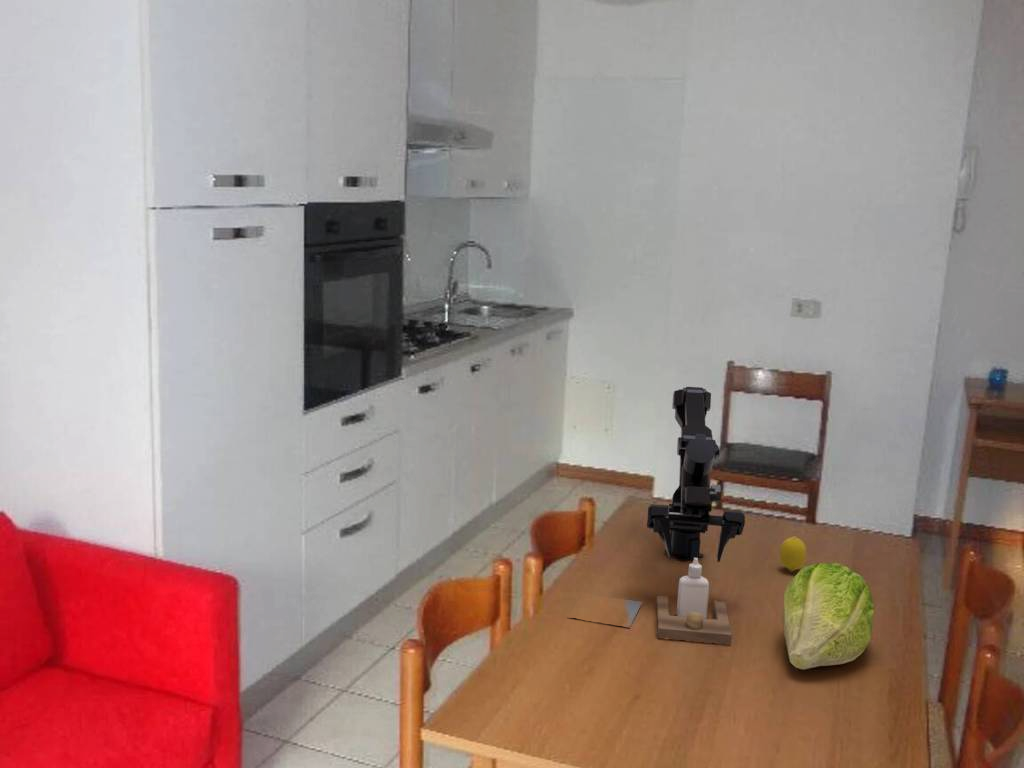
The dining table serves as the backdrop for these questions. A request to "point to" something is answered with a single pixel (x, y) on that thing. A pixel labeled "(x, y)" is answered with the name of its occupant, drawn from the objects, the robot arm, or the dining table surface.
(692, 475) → the robot arm
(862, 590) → the lettuce
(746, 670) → the dining table surface
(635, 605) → the slate mat
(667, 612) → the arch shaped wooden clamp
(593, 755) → the dining table surface
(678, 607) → the eye dropper bottle
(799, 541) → the lemon
